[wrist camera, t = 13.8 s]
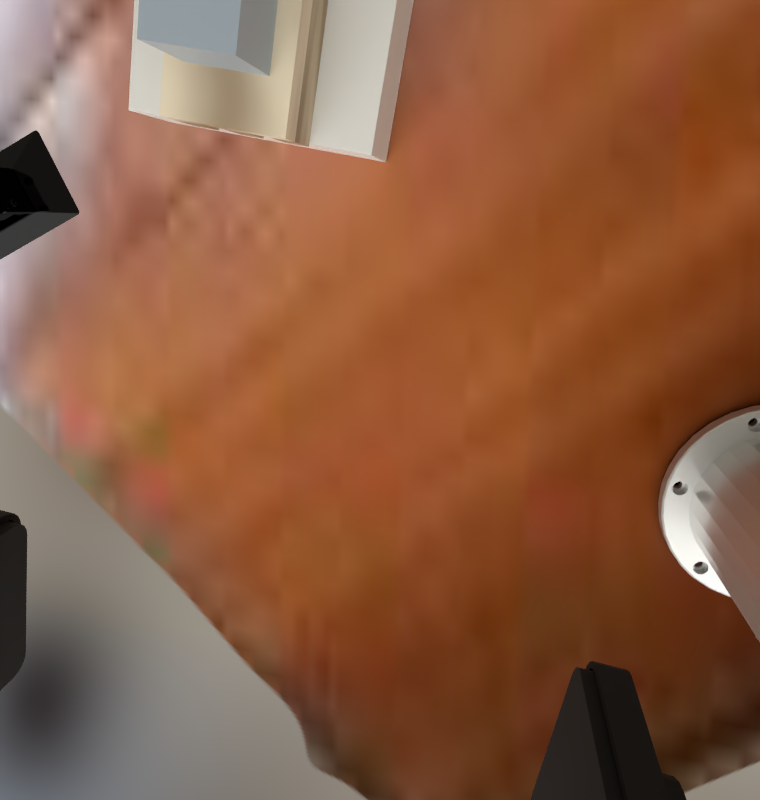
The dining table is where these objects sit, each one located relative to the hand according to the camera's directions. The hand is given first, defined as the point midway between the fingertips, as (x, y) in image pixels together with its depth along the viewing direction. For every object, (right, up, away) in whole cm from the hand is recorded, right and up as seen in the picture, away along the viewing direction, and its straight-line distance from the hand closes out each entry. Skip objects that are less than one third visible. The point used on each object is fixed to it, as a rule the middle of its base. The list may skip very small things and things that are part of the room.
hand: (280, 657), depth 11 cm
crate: (-5, +21, +17) cm, 27 cm away
